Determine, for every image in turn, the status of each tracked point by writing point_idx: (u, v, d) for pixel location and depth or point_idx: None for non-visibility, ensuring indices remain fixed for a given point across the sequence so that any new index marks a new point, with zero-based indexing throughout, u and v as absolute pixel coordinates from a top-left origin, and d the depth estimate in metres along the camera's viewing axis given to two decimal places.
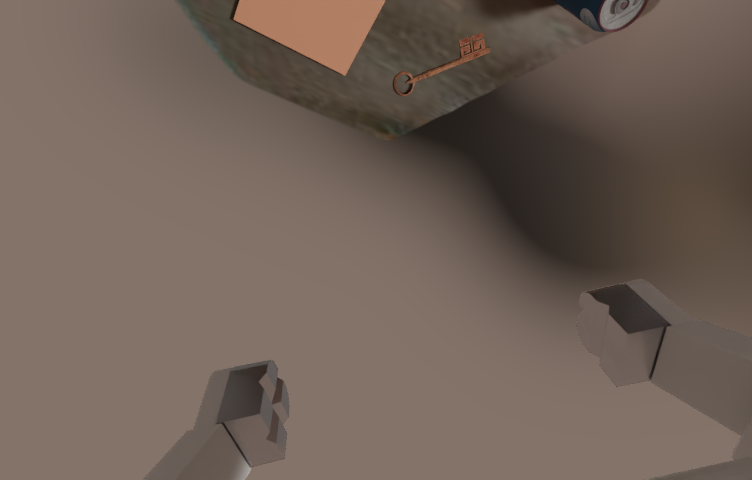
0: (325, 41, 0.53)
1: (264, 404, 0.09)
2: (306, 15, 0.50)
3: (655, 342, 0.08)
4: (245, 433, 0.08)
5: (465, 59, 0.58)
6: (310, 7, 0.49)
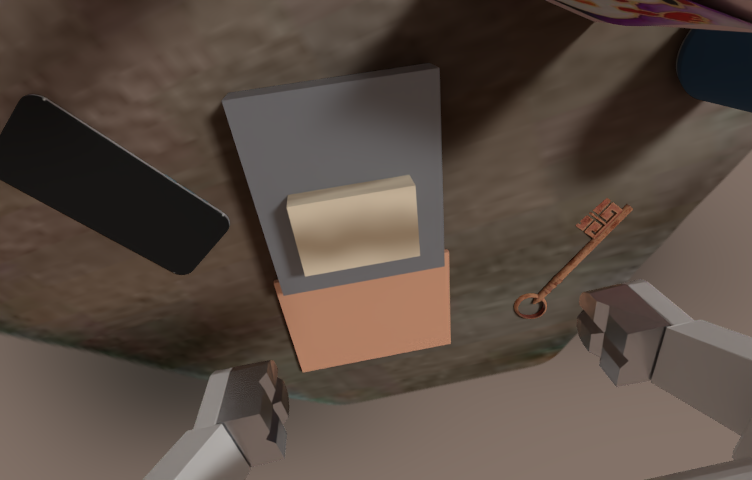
0: (406, 331, 0.40)
1: (264, 404, 0.09)
2: (370, 326, 0.39)
3: (655, 342, 0.08)
4: (245, 433, 0.08)
5: (600, 238, 0.37)
6: (369, 317, 0.38)
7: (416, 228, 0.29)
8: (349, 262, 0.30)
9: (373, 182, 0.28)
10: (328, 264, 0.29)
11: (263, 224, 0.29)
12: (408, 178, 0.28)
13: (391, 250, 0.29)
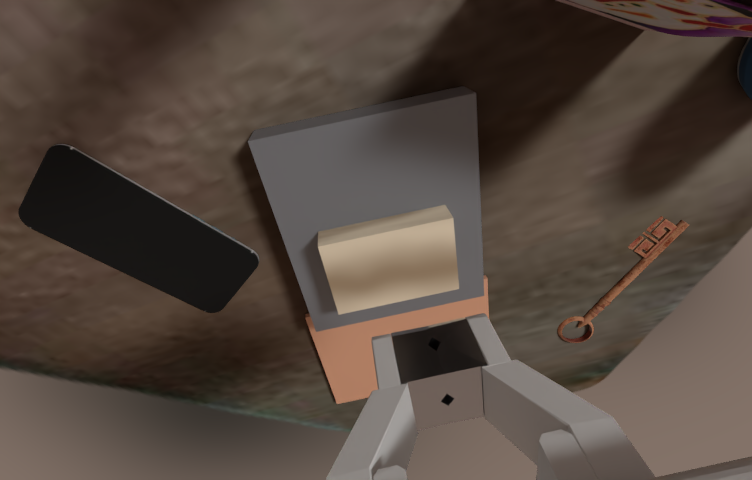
0: None
1: (440, 366, 0.09)
2: None
3: (476, 381, 0.08)
4: (424, 394, 0.08)
5: (652, 257, 0.34)
6: None
7: (454, 261, 0.27)
8: (384, 298, 0.28)
9: (407, 214, 0.27)
10: (362, 301, 0.28)
11: (293, 262, 0.28)
12: (444, 209, 0.26)
13: (428, 284, 0.28)
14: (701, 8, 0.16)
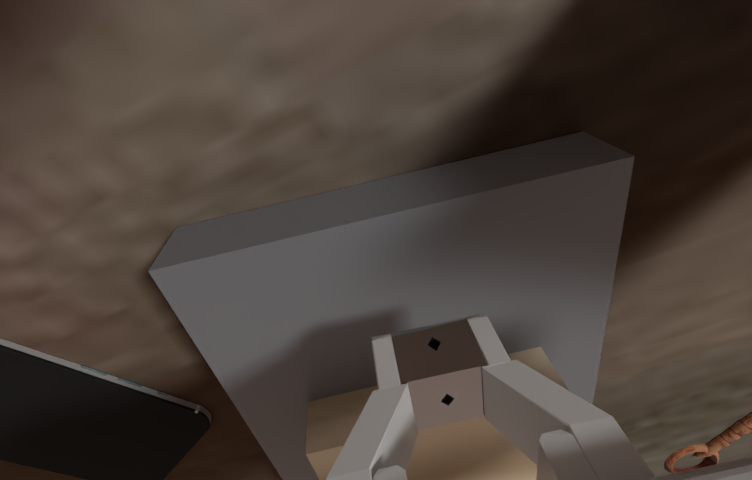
0: None
1: (440, 366, 0.09)
2: None
3: (476, 381, 0.08)
4: (424, 394, 0.08)
5: None
6: None
7: None
8: None
9: None
10: None
11: (265, 445, 0.16)
12: (543, 362, 0.14)
13: None
14: None
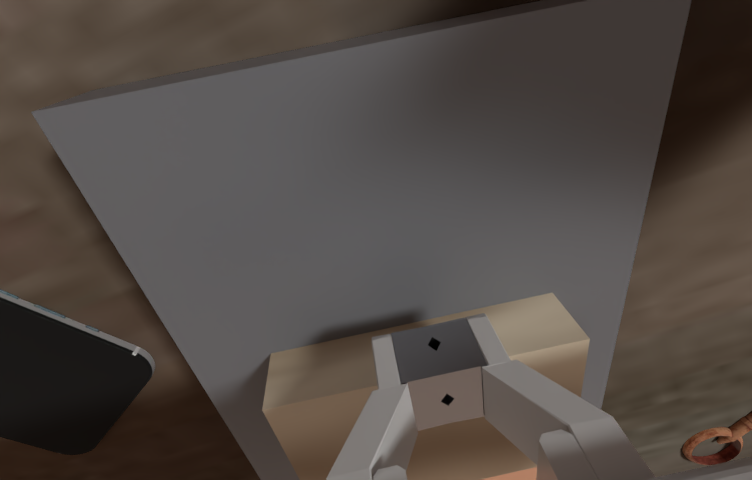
0: None
1: (440, 366, 0.09)
2: None
3: (477, 381, 0.08)
4: (424, 394, 0.08)
5: None
6: None
7: None
8: None
9: None
10: None
11: (211, 390, 0.13)
12: (556, 308, 0.12)
13: (510, 457, 0.13)
14: None
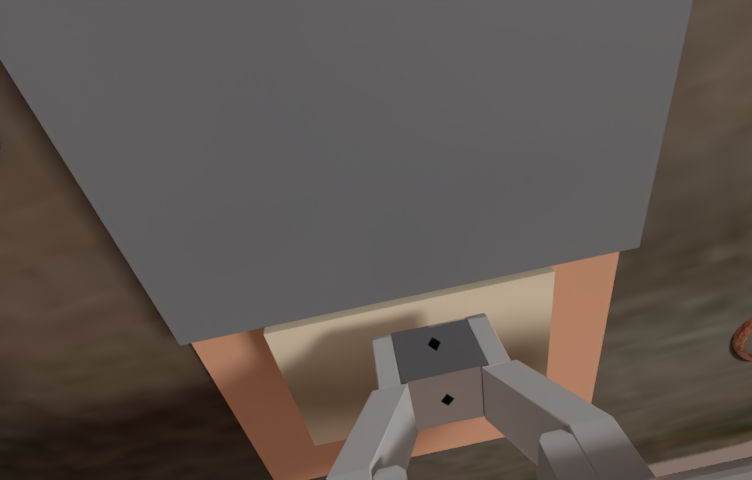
0: None
1: (440, 366, 0.09)
2: None
3: (476, 382, 0.08)
4: (424, 394, 0.08)
5: None
6: None
7: (544, 351, 0.14)
8: None
9: None
10: None
11: (39, 105, 0.08)
12: None
13: None
14: None
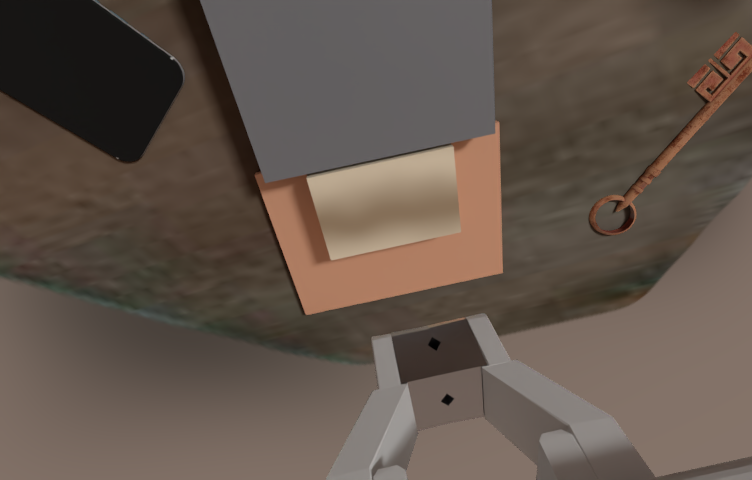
0: (442, 253, 0.29)
1: (440, 366, 0.09)
2: None
3: (477, 381, 0.08)
4: (424, 394, 0.08)
5: (720, 99, 0.26)
6: None
7: (456, 199, 0.25)
8: (380, 242, 0.26)
9: None
10: (356, 245, 0.26)
11: (223, 55, 0.20)
12: None
13: (427, 226, 0.26)
14: None
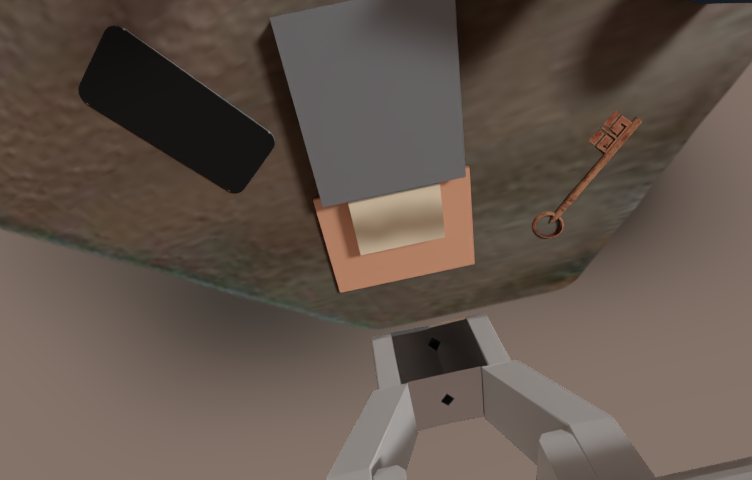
0: (433, 251, 0.43)
1: (441, 366, 0.09)
2: None
3: (476, 381, 0.08)
4: (424, 394, 0.08)
5: (612, 152, 0.40)
6: None
7: (441, 216, 0.39)
8: (393, 243, 0.40)
9: None
10: (377, 245, 0.40)
11: (304, 135, 0.33)
12: None
13: (423, 233, 0.40)
14: None
